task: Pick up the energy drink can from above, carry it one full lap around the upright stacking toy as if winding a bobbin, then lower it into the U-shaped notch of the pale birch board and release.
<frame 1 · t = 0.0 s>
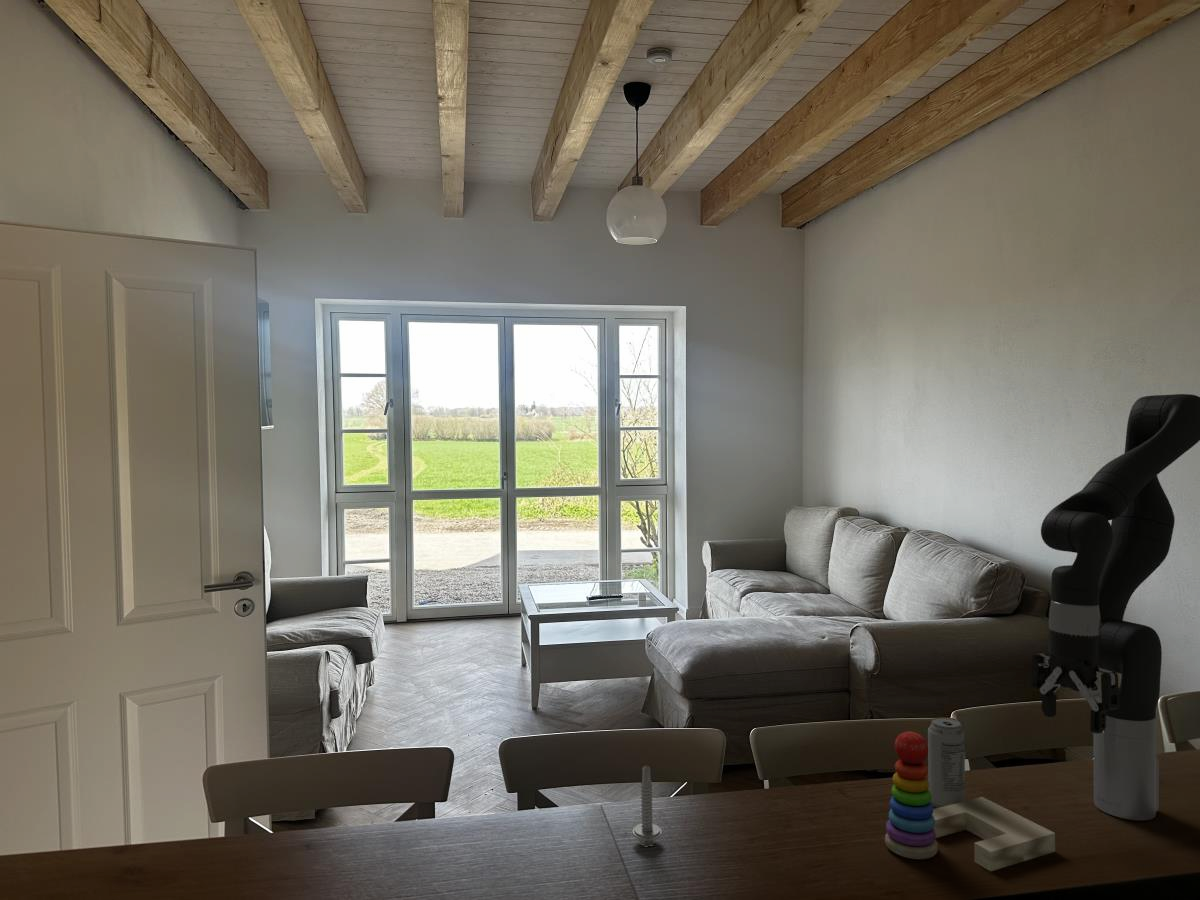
hand: (1072, 724, 135), 17 cm above the table, tool pointing down, fingers open, 8 cm apart
stacking toy: (911, 850, 128), on the table
energy drink can: (946, 806, 143), on the table
notched board: (986, 840, 130), on the table
screw: (647, 844, 131), on the table
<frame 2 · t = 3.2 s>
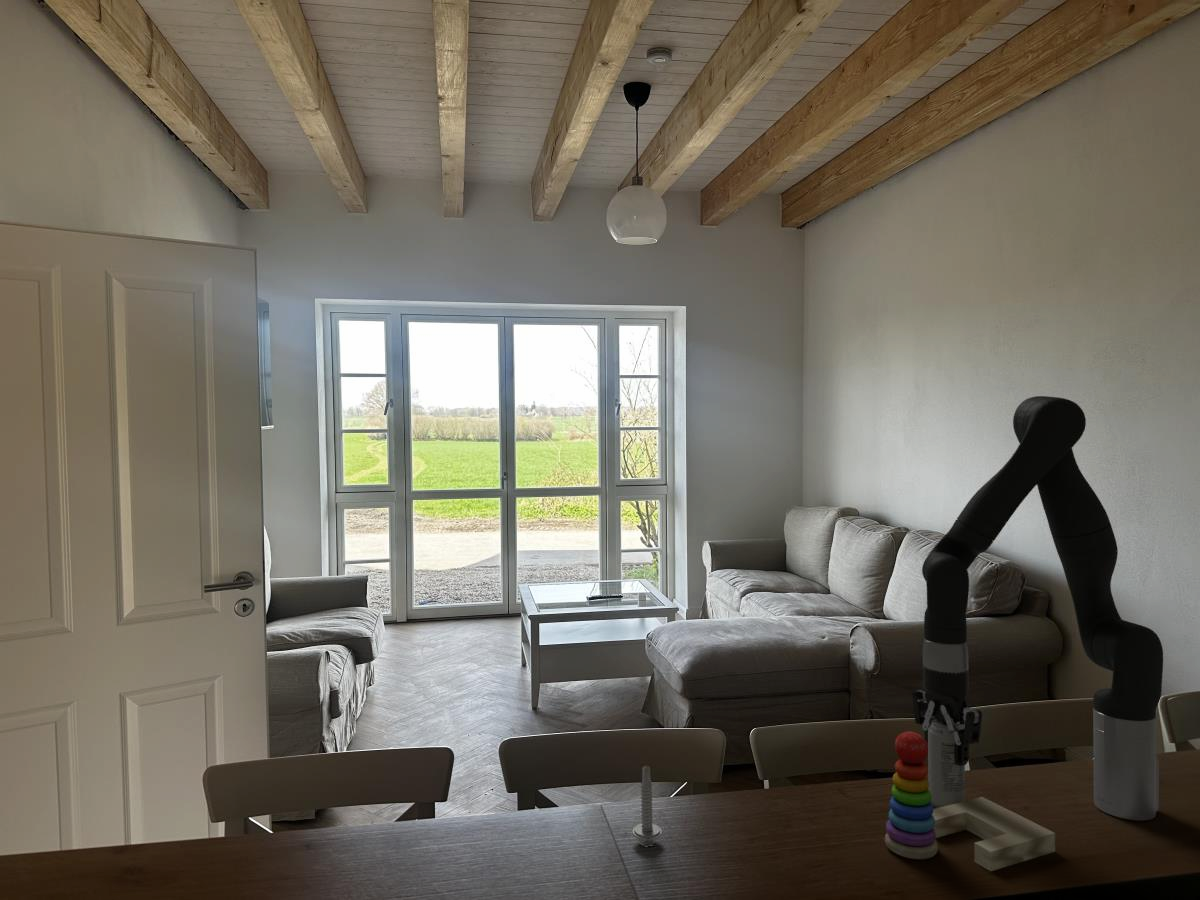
hand: (946, 757, 143), 9 cm above the table, tool pointing down, fingers closed on energy drink can, 6 cm apart
energy drink can: (946, 806, 143), on the table, touching gripper
everything else where it was.
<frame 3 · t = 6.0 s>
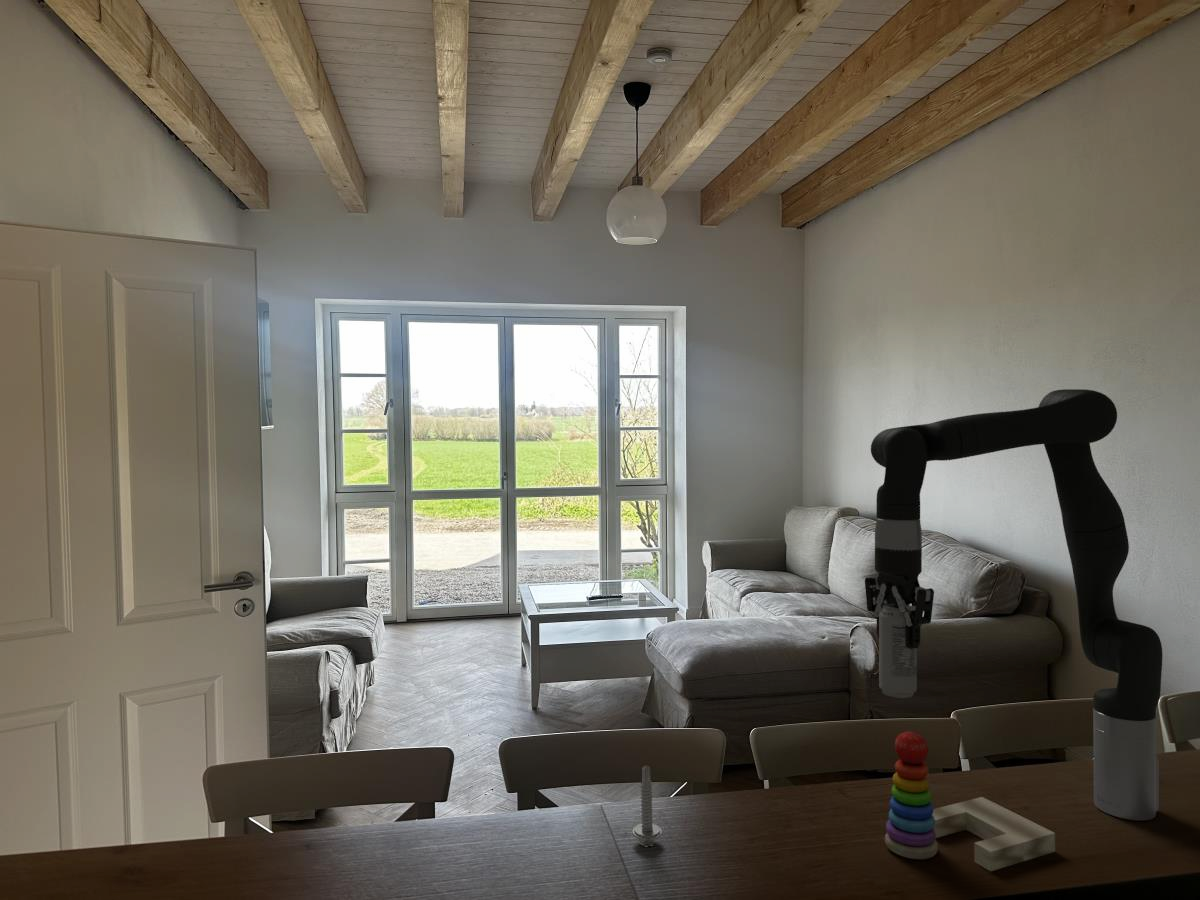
hand: (897, 642, 136), 31 cm above the table, tool pointing down, fingers closed on energy drink can, 6 cm apart
energy drink can: (897, 694, 136), point 22 cm above the table, touching gripper
everything else where it was.
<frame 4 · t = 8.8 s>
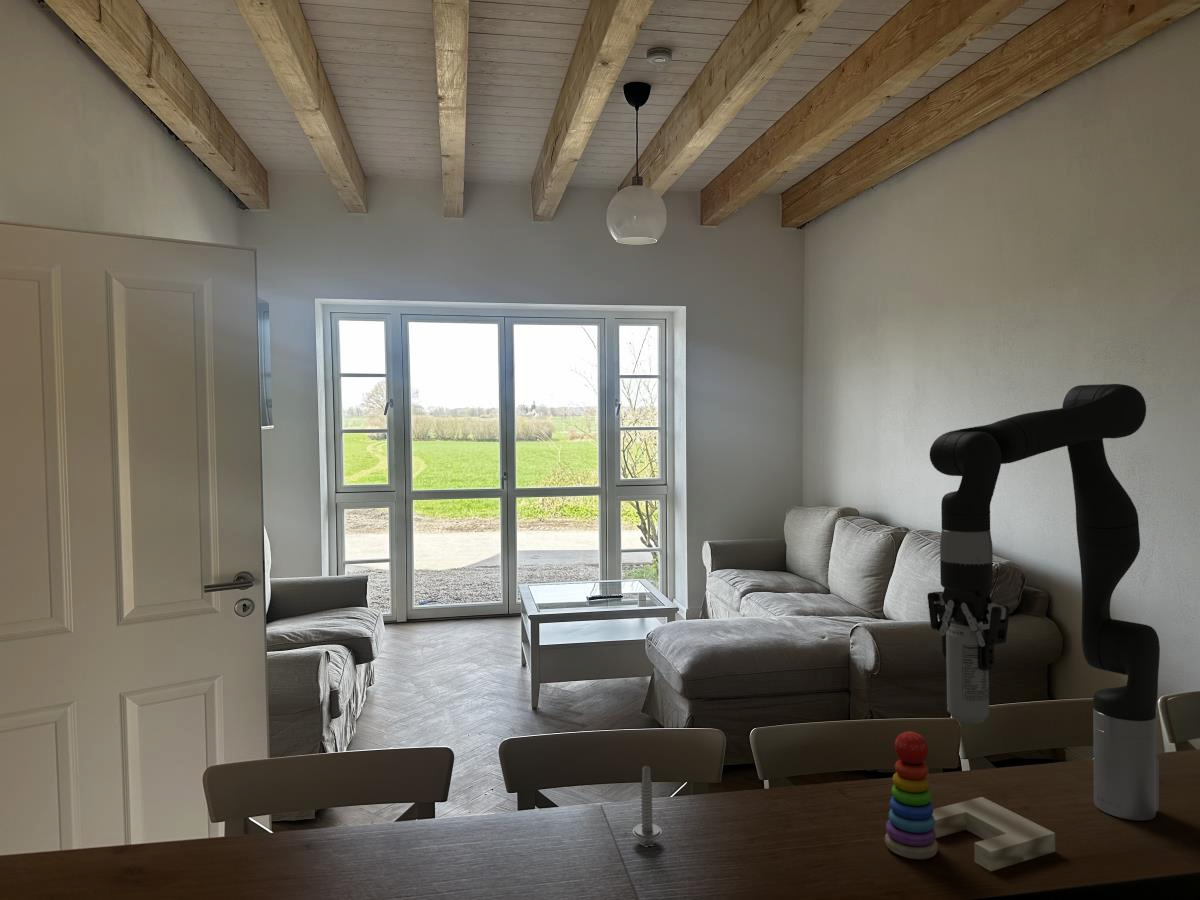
hand: (967, 663, 126), 30 cm above the table, tool pointing down, fingers closed on energy drink can, 6 cm apart
energy drink can: (968, 719, 126), point 22 cm above the table, touching gripper
everything else where it was.
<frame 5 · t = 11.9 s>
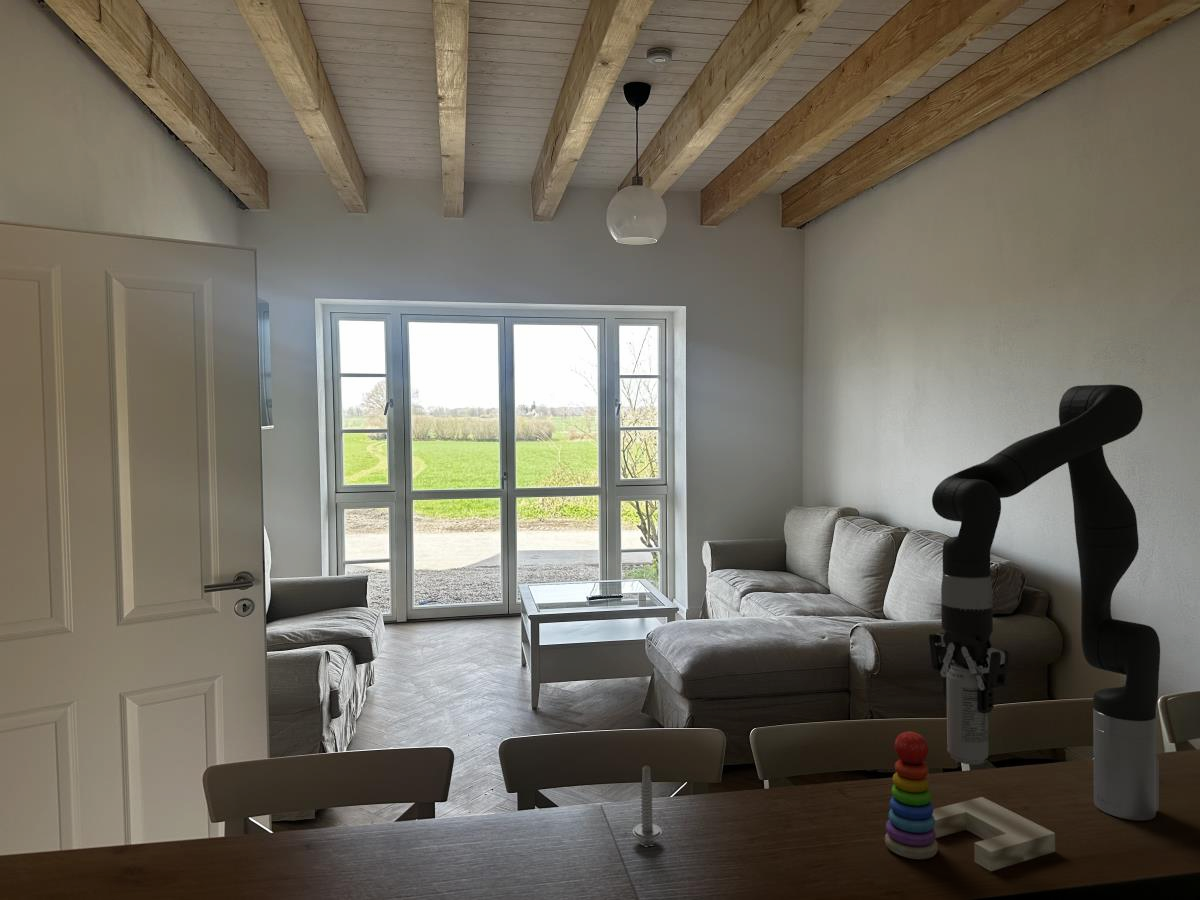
hand: (967, 705, 128), 23 cm above the table, tool pointing down, fingers closed on energy drink can, 6 cm apart
energy drink can: (967, 759, 128), point 14 cm above the table, touching gripper
everything else where it was.
when the fingers open (9 cm above the table, at t = 14.8 s): energy drink can stays where it is, on the table.
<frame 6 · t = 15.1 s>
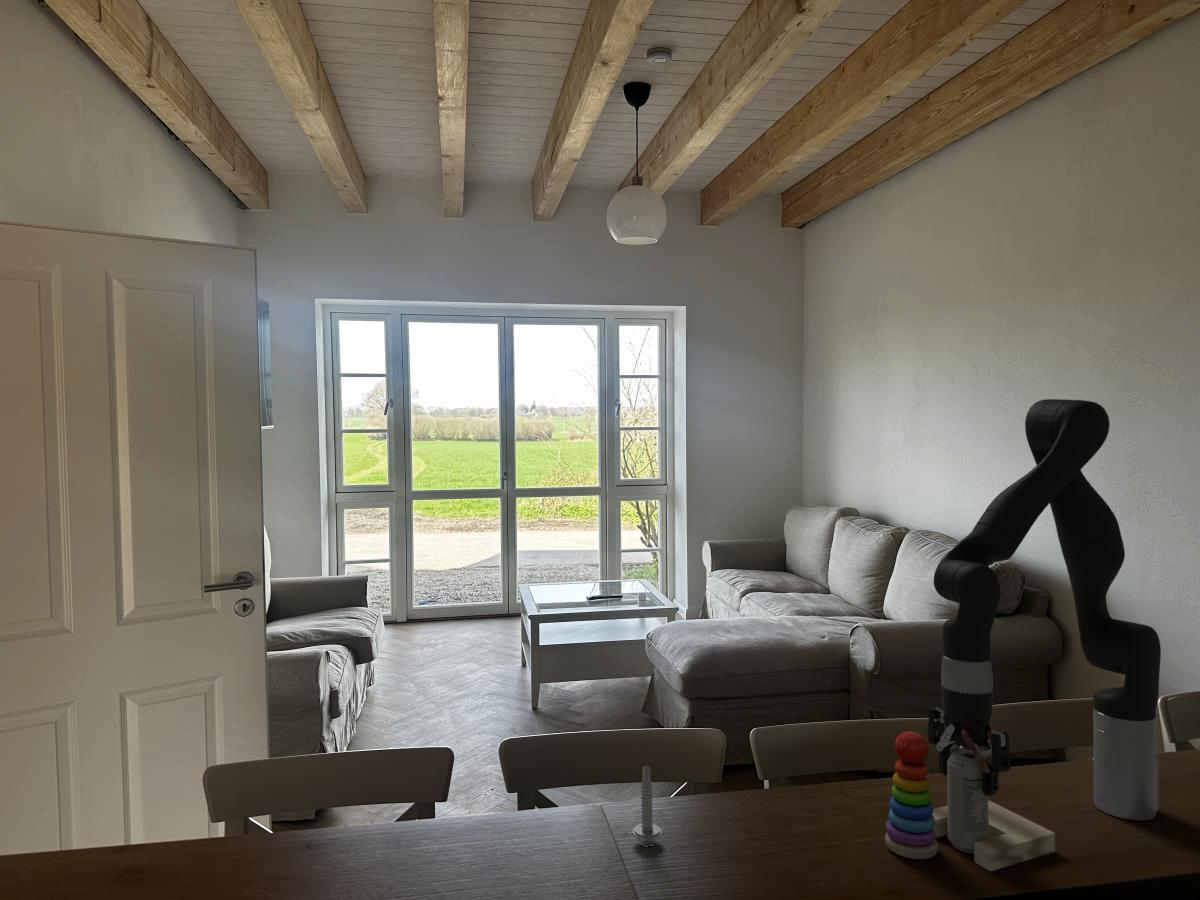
hand: (967, 784, 128), 10 cm above the table, tool pointing down, fingers open, 8 cm apart
energy drink can: (967, 847, 129), on the table
everything else where it was.
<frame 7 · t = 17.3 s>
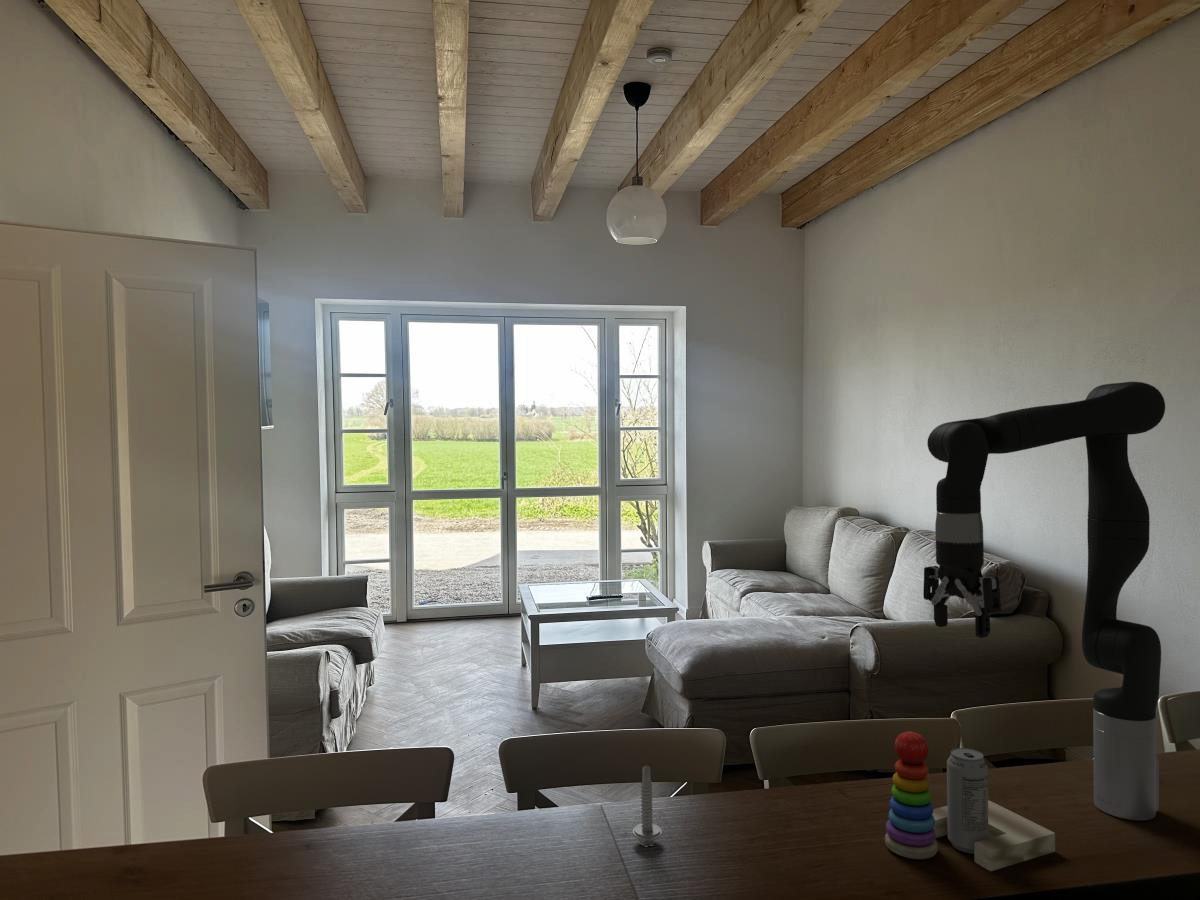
hand: (961, 631, 137), 33 cm above the table, tool pointing down, fingers open, 8 cm apart
nothing on the table moved.
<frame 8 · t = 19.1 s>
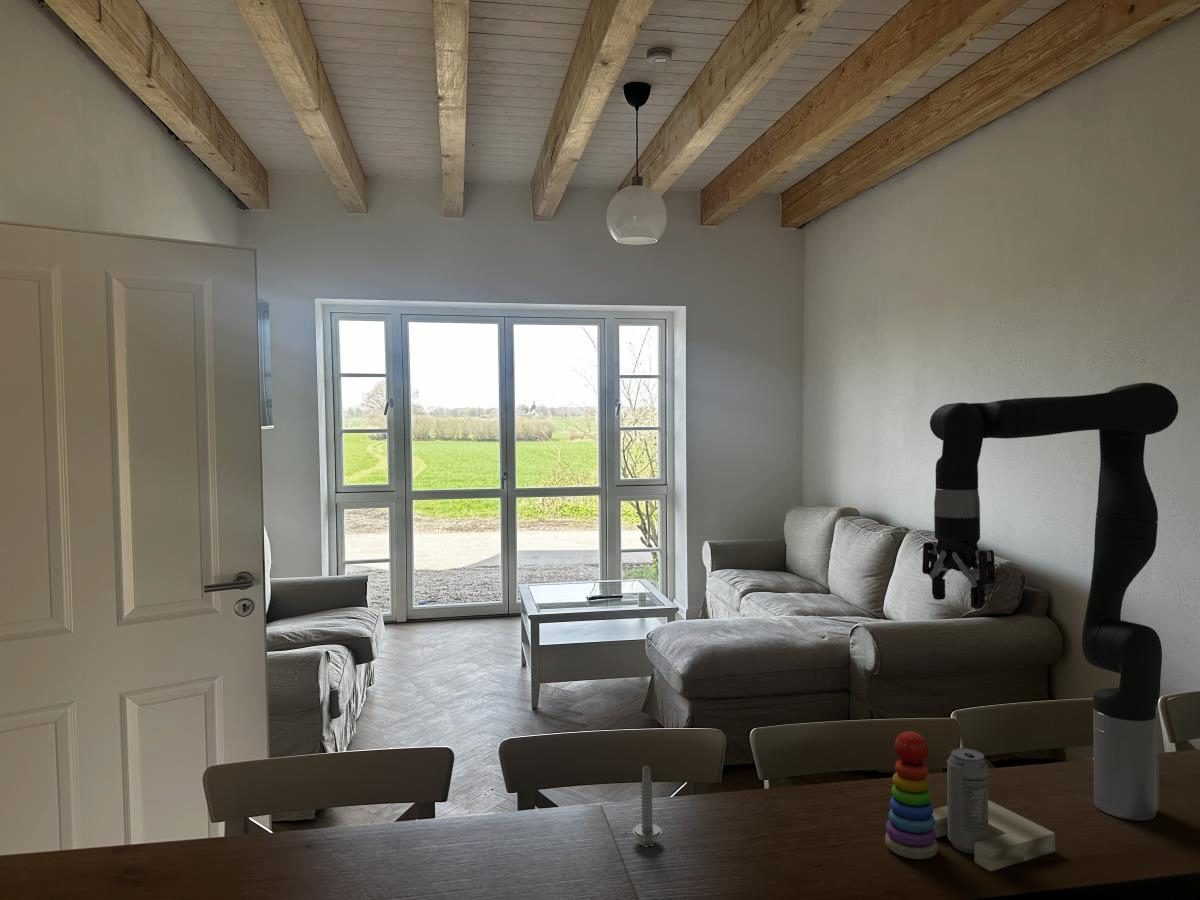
hand: (957, 603, 143), 36 cm above the table, tool pointing down, fingers open, 8 cm apart
nothing on the table moved.
at the end: energy drink can 0.0 cm from the target spot, on the table; energy drink can tilted 0°; the gripper is holding nothing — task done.
